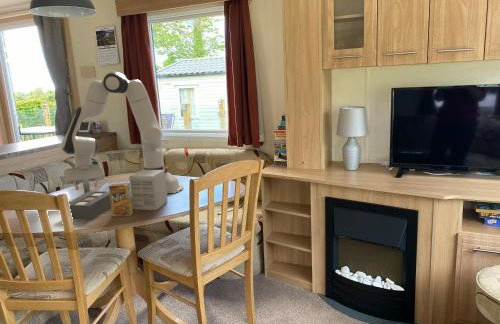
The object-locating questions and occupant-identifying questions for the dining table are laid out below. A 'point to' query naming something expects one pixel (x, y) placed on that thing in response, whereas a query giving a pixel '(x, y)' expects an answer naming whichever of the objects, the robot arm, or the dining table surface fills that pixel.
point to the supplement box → (148, 189)
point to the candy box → (120, 199)
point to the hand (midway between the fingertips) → (86, 187)
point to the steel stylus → (86, 185)
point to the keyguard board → (90, 205)
